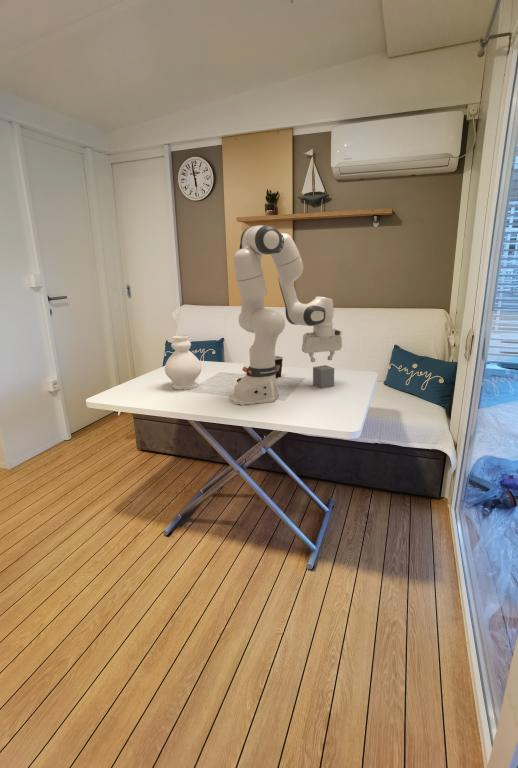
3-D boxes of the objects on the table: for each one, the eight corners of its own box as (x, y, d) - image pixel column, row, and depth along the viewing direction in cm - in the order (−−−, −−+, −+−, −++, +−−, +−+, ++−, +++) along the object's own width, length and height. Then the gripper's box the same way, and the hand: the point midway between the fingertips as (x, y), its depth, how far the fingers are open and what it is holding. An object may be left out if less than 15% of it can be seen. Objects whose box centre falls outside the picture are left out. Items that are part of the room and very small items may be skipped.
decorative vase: (163, 392, 195) (158, 340, 188) (170, 381, 212) (165, 334, 205) (201, 390, 196) (196, 338, 188) (204, 380, 213) (200, 332, 206)
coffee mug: (283, 374, 219) (283, 355, 216) (282, 378, 210) (282, 359, 208) (261, 374, 220) (261, 356, 217) (260, 378, 212) (259, 359, 209)
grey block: (321, 388, 192) (321, 370, 189) (312, 384, 198) (313, 367, 196) (333, 386, 195) (334, 368, 192) (325, 382, 201) (325, 365, 198)
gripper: (306, 333, 183) (305, 364, 186) (344, 331, 191) (343, 360, 194) (299, 332, 188) (298, 361, 192) (336, 329, 196) (335, 358, 200)
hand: (321, 360), depth 193 cm, fingers open, 8 cm apart
